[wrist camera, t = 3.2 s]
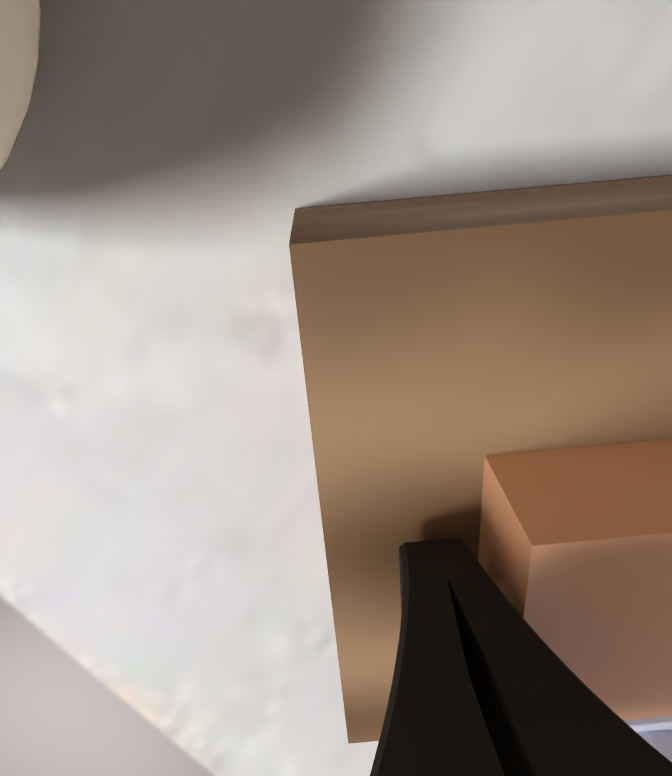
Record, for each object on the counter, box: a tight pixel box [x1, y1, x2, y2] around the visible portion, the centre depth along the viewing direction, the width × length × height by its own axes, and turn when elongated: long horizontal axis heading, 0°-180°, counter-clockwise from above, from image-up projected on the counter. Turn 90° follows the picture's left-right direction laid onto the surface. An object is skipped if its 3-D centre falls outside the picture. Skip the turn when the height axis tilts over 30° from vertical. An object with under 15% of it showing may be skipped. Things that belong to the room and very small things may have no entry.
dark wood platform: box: [289, 175, 672, 743], centre depth 13 cm, size 14×15×4 cm
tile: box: [478, 438, 672, 720], centre depth 10 cm, size 5×5×2 cm
